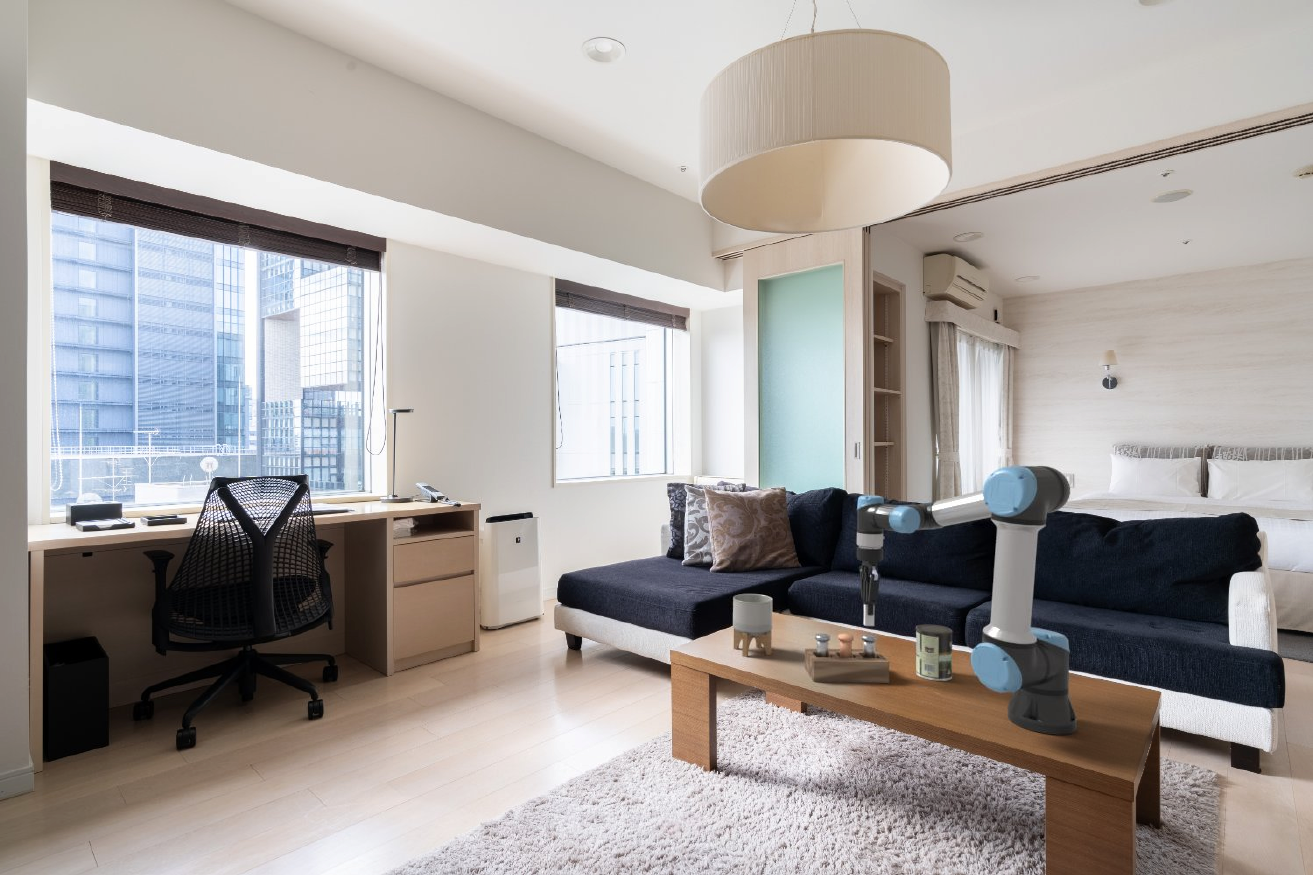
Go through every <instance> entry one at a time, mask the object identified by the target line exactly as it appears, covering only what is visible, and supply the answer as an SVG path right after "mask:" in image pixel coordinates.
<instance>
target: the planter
mask: <svg viewBox="0 0 1313 875" xmlns="http://www.w3.org/2000/svg"><path fill="white" fill-rule="evenodd" d="M732 598H733V599H732V600H733V601H732V606H733V607H732V610H733V611H732V629H733V650H738V649H739V648H740V644H741V641H742V653H741V654H742V655H741V656H742V657H744V658H747V657H749V650H750V647H751V646H750V645H751V642H752V641H753V639H754V640H755V648H759V649H761V648H762V646H763V647H764V650H765V655H766V656H771V655H772V639H773V638H772V630H773V598H772V597H771V596H768V595H765V594H758V593H742V594H737V595H736V594H735V595H734V596H733V597H732Z"/></svg>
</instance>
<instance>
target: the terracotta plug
mask: <svg viewBox="0 0 1313 875" xmlns="http://www.w3.org/2000/svg"><path fill="white" fill-rule="evenodd" d="M854 639H855V638H854V635H852V634H849V633H839V634H838V637H837V640H839V649H840V658H852V649H853V641H854Z"/></svg>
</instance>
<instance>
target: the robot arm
mask: <svg viewBox="0 0 1313 875" xmlns="http://www.w3.org/2000/svg"><path fill="white" fill-rule="evenodd" d="M982 487H983V488H982V490H977V491H972V492H968V493H965V494H962V495H957V496H953V497H952V496H951V497H948V498H944V499H939V500H936V501H932V502H927V503H920V504H898V505H897V504H888V503H887V504H886V503H885V501H884V497H883V496H880V495H873V494H872V495H868V494H867V495H860V496H858V498H857V508H856V512H857V513H856V514H857V516H856V518H857V519H856V520H857V521H856V522H857V523H856V524H857V525H856V526H857V531H856V545H857V547H856V558H857V560H859V561H862V562H861V565H860V566H858V570H859V576H860V577H859V579H860V594H861V595H860V596H861V599H862V602H863V626H865V627H875V605H877V604H878V598H879V597H878V596H879V589H880V581H881V576H882V574H881V573H879V567H878V562H881V561H883V559H884V549H883V548H882V547H883V546H884V540H885V536H884V530H885V531H891V532H897V533H899V534H913V533H914V532H916V531H921V530H923V531H924V530H938V529H942V528H944V527H947V526H952V525H957V524H961V523H967V522H968V523H969V522H972V521H978V520H982V519H988V518H990V520H991V521H992V523H993V524H994V525H995V526H996V540H995V542H996V543H995V552H994V553H995V555H994V565H993V566H994V567H993V583H992V594H991V595H992V596H991V607H990V608H991V610H990V611H991V612H990V623H989V624H987V625H985V626H984V627H983V629H982V635H981V637H982V638H981V642H980V643H978V644H976V646H975V647H974V648H973V649H972V651H971V653H970V663H971V668H972V670H973V672H974V675H975V676H977V678H978V680H979V682H980V683H982V684H983V686H985V687H986V688H988V689H989V690H991V691H993V692H995V693H996V692H997V693H1003V694H1004V693H1005V694H1006V693H1012V695H1011V698H1010V700H1009V703H1008V705H1007V719H1009V720H1010V721H1011V722H1012V723H1013V724H1015V725H1017V726H1019V727H1022V728H1023V729H1027V730H1029V731H1034V732H1038V733H1042V734H1049V735H1058V736H1059V735H1070V734H1073V733H1075V732H1076V731H1077V729H1078V726H1077V725H1078V719H1077V716H1076V713H1075V710H1074V707H1073V705H1072V701H1071V699H1070V693H1069V690H1070V689H1069V688H1070V686H1069V685H1070V684H1069V683H1070V682H1069V680H1070V676H1069V675H1070V653H1071V651H1070V646H1069V639H1068V638H1067V636H1066V635H1065V634H1061V632H1060V633H1059V632H1057V631H1053V630H1048V629H1043V628H1039V627H1032V626H1031V625H1032V611H1033V599H1034V586H1035V575H1036V574H1035V572H1036V559H1037V558H1036V557H1037V548H1038V546H1037V545H1038V537H1039V536H1038V534H1039V531H1040V530H1043V528H1045V527H1046V525H1047V516H1048V515H1047V514H1050V513H1054V512H1056V511H1059V510H1060V509H1062V508H1063V507H1064V506H1065V505H1066V503H1068V501H1069V499H1070V495H1071V486H1070V482H1069V481H1068V479H1067V478H1066V476H1065V475H1064V474H1063V473H1062V472H1061V471H1059V470H1058V469H1057V468H1054V467H1051V466H1048V465H1047V466H1046V465H1011V466H1005V467H1001V468H998V469H996V470H995V471H993V472H992V473H991V474H990V475H988V477H987V479H986V480H985V481H984V485H983V486H982Z"/></svg>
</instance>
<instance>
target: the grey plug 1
mask: <svg viewBox="0 0 1313 875" xmlns="http://www.w3.org/2000/svg"><path fill="white" fill-rule="evenodd" d="M814 639H815V640H816V649H817V657H827V658H828V649H829V641H831V635H830V634H827V633H816V634H814Z"/></svg>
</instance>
